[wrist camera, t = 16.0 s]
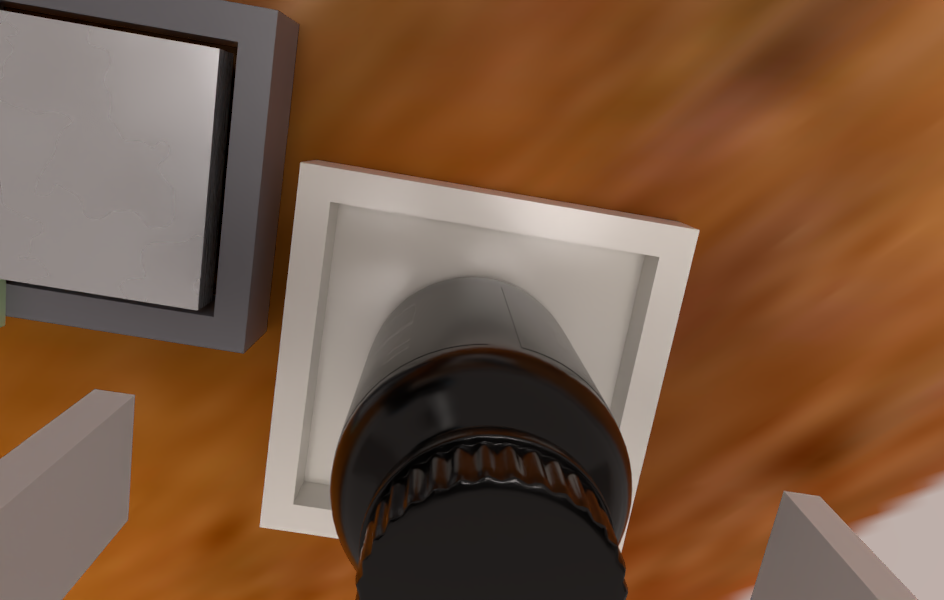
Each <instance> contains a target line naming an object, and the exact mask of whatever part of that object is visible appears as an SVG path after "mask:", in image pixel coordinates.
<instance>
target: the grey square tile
mask: <svg viewBox="0 0 944 600" xmlns="http://www.w3.org/2000/svg"><path fill="white" fill-rule="evenodd" d="M233 58H234V54H233V53H230V52H228V51H225V50H222V49H218V48H213V47H207V46H201V45H196V44H190V43H184V42H179V41H173V40H167V39H162V38H156V37H150V36H145V35H139V34H133V33H128V32H122V31H116V30H111V29H105V28H99V27H94V26H88V25H82V24H76V23H71V22H65V21H59V20H54V19H48V18H42V17H37V16H31V15H25V14H20V13H14V12H8V11H3V10H0V279H4V280H10V281H16V282H22V283H29V284H35V285H41V286H47V287H54V288H60V289H66V290H72V291H79V292H85V293H91V294H97V295H104V296H110V297H116V298H122V299H129V300H135V301H141V302H147V303H153V304H160V305H166V306H172V307H178V308H185V309H191V310H197V311H198V310H199V309H201V308H202V307H204V306H205V305H207V304H209V303H210V302H212V296H213V285H214V274H215V262H216V251H217V240H218V228H219V217H220V206H221V194H222V183H223V172H224V160H225V149H226V137H227V126H228V115H229V103H230V92H231V81H232V69H233Z"/></svg>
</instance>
